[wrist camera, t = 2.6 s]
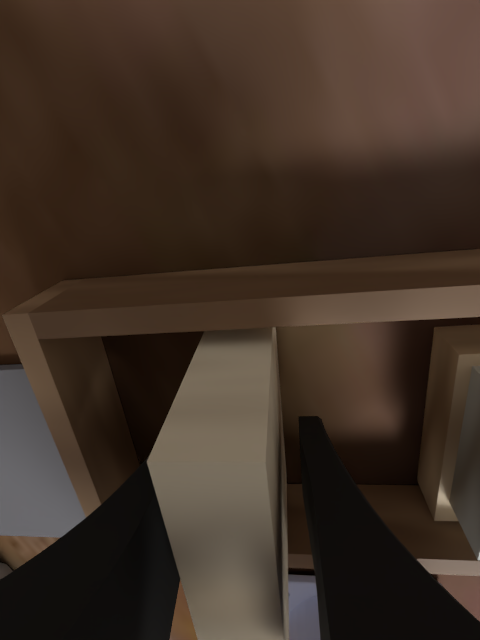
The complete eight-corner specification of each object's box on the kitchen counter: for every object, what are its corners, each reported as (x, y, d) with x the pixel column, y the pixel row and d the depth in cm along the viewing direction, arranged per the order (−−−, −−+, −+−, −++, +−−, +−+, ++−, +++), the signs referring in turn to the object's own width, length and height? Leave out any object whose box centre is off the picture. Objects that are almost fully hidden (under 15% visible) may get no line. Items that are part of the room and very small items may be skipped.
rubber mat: (112, 531, 18) (109, 539, 18) (-10, 527, 19) (-15, 534, 19) (48, 363, 14) (42, 368, 14) (-103, 369, 15) (-112, 374, 15)
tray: (573, 501, 14) (643, 583, 11) (132, 494, 17) (103, 559, 14) (679, 233, 10) (831, 262, 7) (62, 280, 12) (1, 315, 10)
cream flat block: (286, 473, 15) (290, 698, 9) (240, 473, 16) (212, 690, 9) (273, 301, 12) (265, 462, 6) (216, 304, 12) (146, 462, 6)
